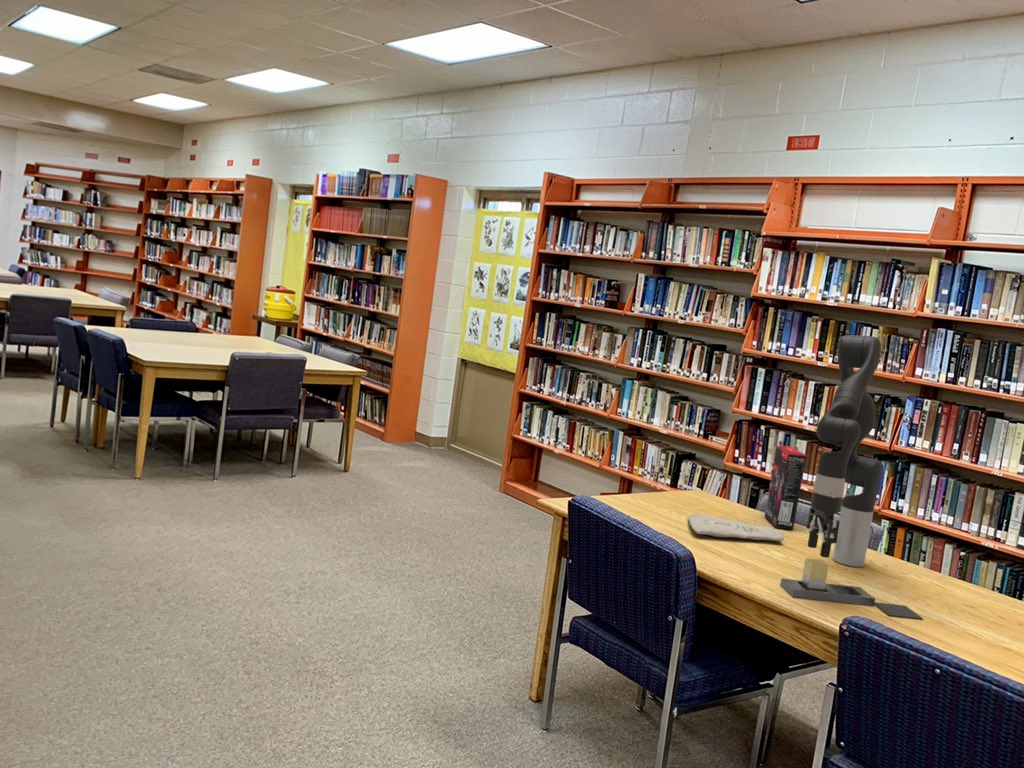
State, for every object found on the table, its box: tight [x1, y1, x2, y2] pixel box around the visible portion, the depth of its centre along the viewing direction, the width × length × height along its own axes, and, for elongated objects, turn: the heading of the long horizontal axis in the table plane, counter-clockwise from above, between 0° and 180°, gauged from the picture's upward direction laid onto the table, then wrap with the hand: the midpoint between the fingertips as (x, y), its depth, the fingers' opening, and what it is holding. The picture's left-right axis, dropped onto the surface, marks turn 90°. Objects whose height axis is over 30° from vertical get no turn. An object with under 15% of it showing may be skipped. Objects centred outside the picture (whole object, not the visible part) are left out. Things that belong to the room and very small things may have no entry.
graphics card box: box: [764, 445, 807, 531], centre depth 307 cm, size 17×7×27 cm, turn 178°
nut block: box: [801, 557, 830, 592], centre depth 229 cm, size 4×4×9 cm
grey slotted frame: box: [779, 578, 876, 607], centre depth 230 cm, size 9×22×2 cm, turn 92°
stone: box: [688, 513, 785, 542], centre depth 283 cm, size 25×5×30 cm
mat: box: [874, 601, 924, 621], centre depth 224 cm, size 9×9×1 cm
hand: (818, 552), depth 228 cm, fingers open, 8 cm apart
